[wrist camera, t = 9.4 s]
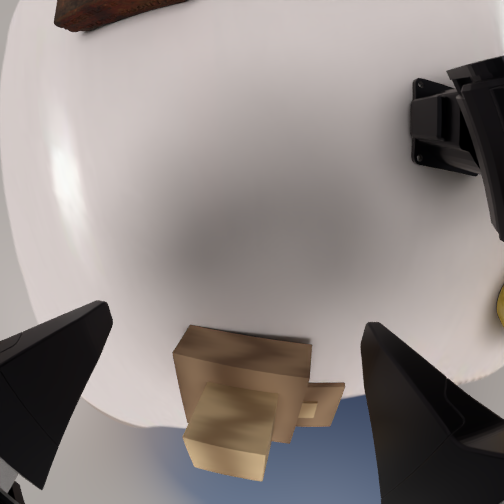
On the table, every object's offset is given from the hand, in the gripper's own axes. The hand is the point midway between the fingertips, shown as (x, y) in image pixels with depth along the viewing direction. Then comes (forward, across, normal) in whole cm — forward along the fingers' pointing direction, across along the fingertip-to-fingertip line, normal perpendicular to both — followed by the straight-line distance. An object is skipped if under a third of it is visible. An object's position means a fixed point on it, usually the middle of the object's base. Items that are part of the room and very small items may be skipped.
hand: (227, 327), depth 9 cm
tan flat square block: (+12, +1, +16) cm, 20 cm away
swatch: (+12, -5, +21) cm, 25 cm away
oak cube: (+8, +1, +16) cm, 18 cm away
